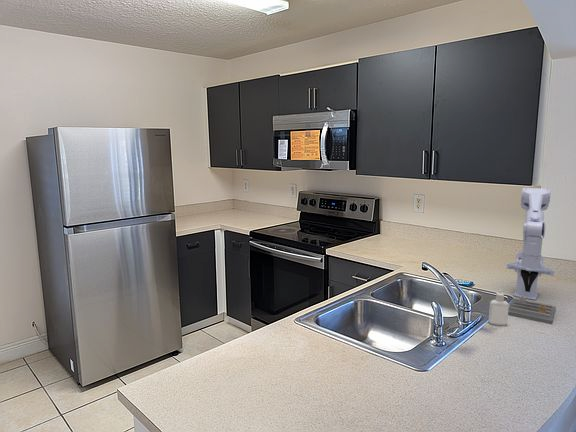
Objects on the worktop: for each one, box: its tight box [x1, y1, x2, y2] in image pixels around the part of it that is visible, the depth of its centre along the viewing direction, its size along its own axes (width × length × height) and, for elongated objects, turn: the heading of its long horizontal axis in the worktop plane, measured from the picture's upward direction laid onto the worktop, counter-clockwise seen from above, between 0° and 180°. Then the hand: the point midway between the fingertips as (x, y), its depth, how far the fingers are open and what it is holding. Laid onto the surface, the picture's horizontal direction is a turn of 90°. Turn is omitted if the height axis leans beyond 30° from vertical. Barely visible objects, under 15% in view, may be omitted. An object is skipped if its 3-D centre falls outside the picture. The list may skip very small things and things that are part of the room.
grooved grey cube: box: [518, 295, 527, 303], centre depth 154 cm, size 2×2×3 cm
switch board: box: [508, 298, 557, 325], centre depth 149 cm, size 16×14×2 cm
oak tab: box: [538, 305, 546, 313], centre depth 144 cm, size 2×2×3 cm
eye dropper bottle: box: [488, 289, 510, 326], centre depth 139 cm, size 4×6×12 cm
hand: (527, 290), depth 147 cm, fingers closed
